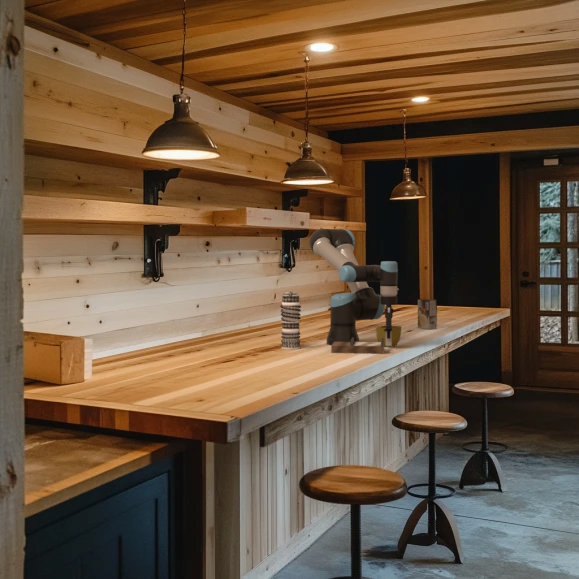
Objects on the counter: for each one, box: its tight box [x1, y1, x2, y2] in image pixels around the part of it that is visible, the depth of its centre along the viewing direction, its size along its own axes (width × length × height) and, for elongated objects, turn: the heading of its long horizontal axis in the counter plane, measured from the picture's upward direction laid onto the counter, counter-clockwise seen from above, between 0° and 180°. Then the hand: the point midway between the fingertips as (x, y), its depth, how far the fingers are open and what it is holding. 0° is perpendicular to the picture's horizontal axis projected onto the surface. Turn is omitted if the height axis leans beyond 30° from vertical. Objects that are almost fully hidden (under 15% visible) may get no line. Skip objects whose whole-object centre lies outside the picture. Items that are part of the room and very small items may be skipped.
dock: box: [330, 337, 385, 355], centre depth 319 cm, size 22×14×5 cm, turn 82°
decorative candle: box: [280, 291, 302, 350], centre depth 327 cm, size 9×9×25 cm
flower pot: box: [375, 324, 402, 348], centre depth 333 cm, size 9×9×9 cm
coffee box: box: [417, 298, 438, 330], centre depth 407 cm, size 9×6×16 cm
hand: (388, 344), depth 333 cm, fingers closed on flower pot, 11 cm apart
